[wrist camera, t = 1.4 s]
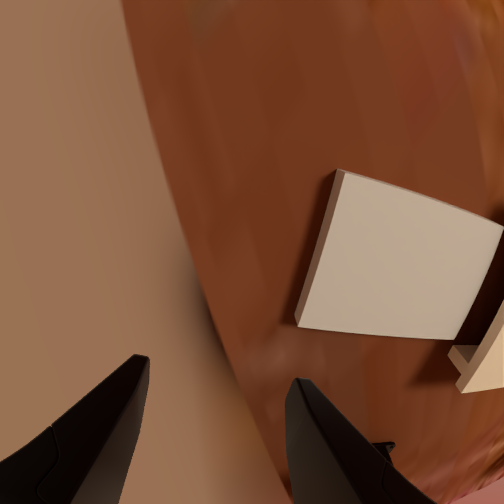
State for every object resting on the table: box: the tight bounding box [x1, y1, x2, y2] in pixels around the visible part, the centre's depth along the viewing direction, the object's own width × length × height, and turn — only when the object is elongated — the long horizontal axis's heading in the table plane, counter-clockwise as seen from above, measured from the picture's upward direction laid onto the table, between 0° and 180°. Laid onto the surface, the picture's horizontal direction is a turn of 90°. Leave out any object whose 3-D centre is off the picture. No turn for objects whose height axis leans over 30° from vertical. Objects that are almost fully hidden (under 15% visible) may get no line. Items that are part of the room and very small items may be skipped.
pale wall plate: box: [294, 169, 504, 340], centre depth 20 cm, size 10×14×2 cm
